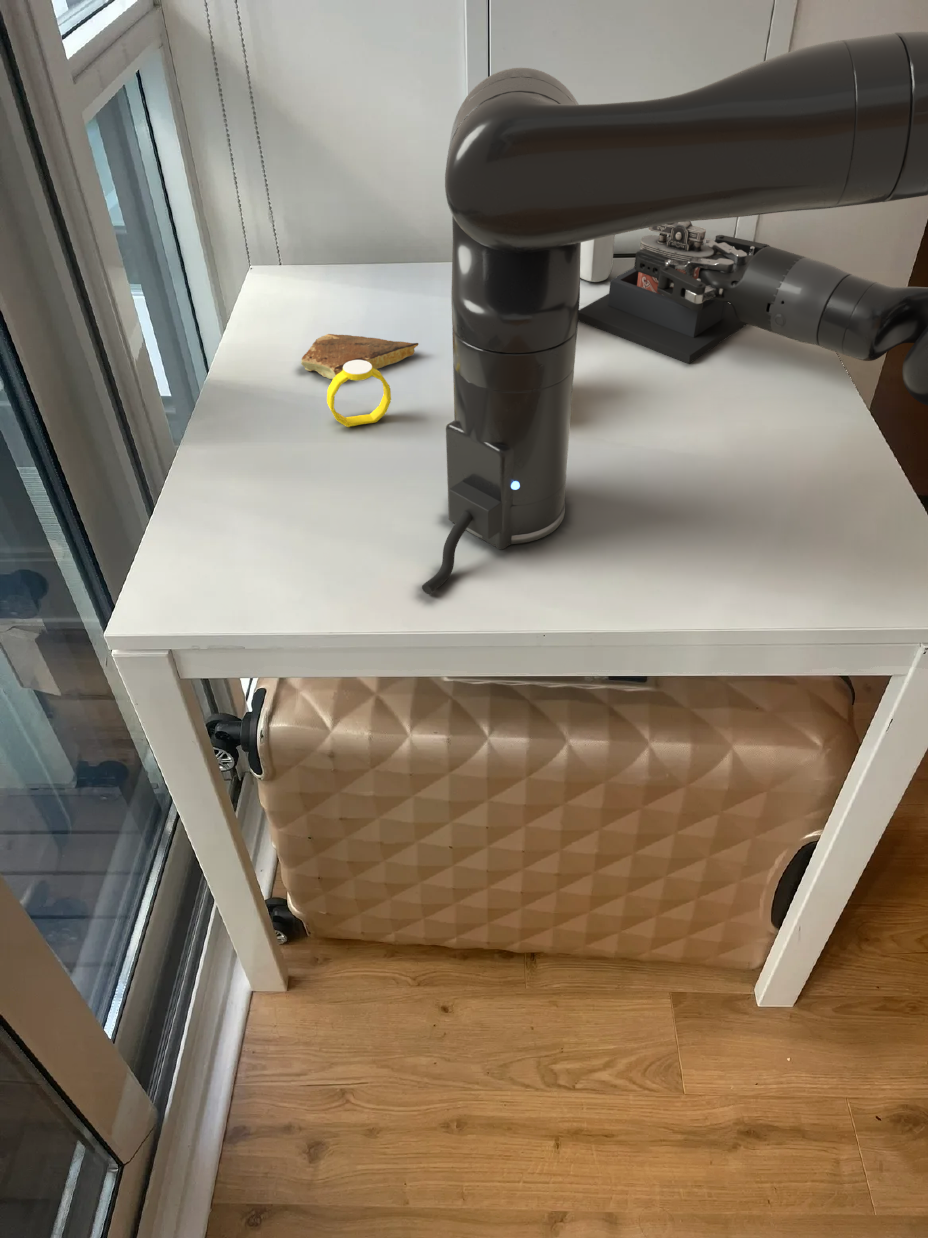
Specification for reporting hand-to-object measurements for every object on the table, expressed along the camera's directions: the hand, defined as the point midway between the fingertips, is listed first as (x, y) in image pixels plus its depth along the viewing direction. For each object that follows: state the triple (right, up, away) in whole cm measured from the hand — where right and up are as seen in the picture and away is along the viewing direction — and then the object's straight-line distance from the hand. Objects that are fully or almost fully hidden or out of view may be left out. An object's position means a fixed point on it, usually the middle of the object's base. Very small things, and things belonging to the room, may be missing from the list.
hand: (653, 250), depth 102 cm
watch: (-31, -21, -10) cm, 38 cm away
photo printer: (-7, +3, +14) cm, 16 cm away
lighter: (+2, -6, +3) cm, 7 cm away
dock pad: (+2, -6, +4) cm, 8 cm away
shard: (-32, -12, -1) cm, 35 cm away
